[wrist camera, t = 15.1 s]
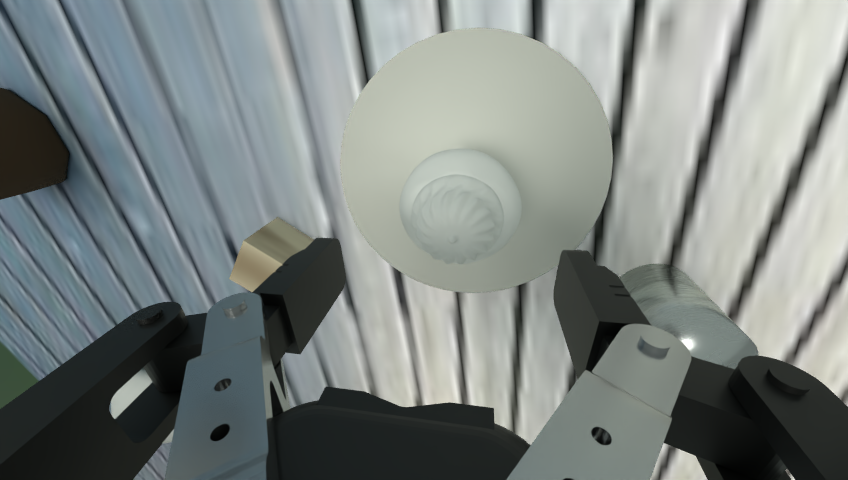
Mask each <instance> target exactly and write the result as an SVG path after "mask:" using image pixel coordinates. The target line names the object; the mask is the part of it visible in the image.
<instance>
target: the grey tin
mask: <svg viewBox="0 0 848 480" xmlns="http://www.w3.org/2000/svg"><path fill="white" fill-rule="evenodd" d="M620 280H621V281H622V283H623V284H624V286H625V288H626V289H627V290H628V292H629V293H630V295H631V297H632V298H633V299H634V301H635V302H636V303H637V305H638V306H639V308H640V309H641V311H642V312H643V314H644V315H645V317H646V318H647V320H648V321H649V323H650V324H651V326H654V327H657V328H660V329H662V330H664V331H666V332H668V333H670V334H672V335H673V336H675V337H676V338H678V339H679V340H680V341H681V342H683V343H684V345H685V346H686V347H687V348H688V350H689V351H690V354H691V356H693V357H695V358H698V359H702V360H705V361H708V362H712V363H715V364H719V365H722V366H726V367H729V368H732V369H735V368H736V366H737V365H738V363H739V361H740V360H741V359H742V358H744V357H747V356H758V350H757V347H756V345H755V344H754V343H753V341H752V340H751V339H750V338H749V337H748V336H747V335H746V334H745V333H744V332H743V331H742V330H741V329H740V328H739V327H738V326H737V325H736V324H735V323H734V322H733V321H732V320H731V319H730V318H729V317H728V316H727V315H726V314H725V313H724V312H723V311H722V310H721V309H720V308H719V307H718V306H717V305H716V304H715V303H714V302H713V301H712V300H711V299H710V298H709V297H708V296H707V295H706V294H705V293H704V292H703V291H702V290H701V289H700V288H699V287H698V286H697V285H696V284H695V283H694V282H693V281H692V280H691V279H690V278H689V277H688V276H687V275H686V274H685V273H684V272H683V271H682V270H680V269H678V268H676V267H674V266H670V265H666V264H649V265H643V266H640V267H637V268H634V269H632V270H630V271H628V272H626V273H625V274H624V275H622V276H621V277H620Z"/></svg>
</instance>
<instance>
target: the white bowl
mask: <svg viewBox="0 0 848 480" xmlns="http://www.w3.org/2000/svg"><path fill="white" fill-rule="evenodd" d="M449 149H472V150H476V151H480V152H483V153H485V154H487V155H489V156H491V157H492V158H494V159H495V160H497V161H498V162H499V163H500V164H501V165H502V166H503V167H504V168H505V169H506V170H507V171H508V172H509V174H510V175H511V177H512V178H513V180H514V182H515V184H516V186H517V188H518V190H519V193H520V197H521V203H522V211H521V218H520V221H519V224H518V226H517V229H516V231H515V233H514V234H513V236H512V237H511V239H510V240H509V241H508V243H507V244H506V245H505V246H504V247H503V248H501V249H500V250H499V251H498V252H496V253H494V254H493V255H491V256H489V257H487V258H485V259H482V260H480V261H476V262H472V263H466V264H462V265H460V264H455V263H451V264H446V263H445V262H444V261H442V260H436V259H434V258H433V257H432V256H431V255H429V254H427V253H426V252H424V251H423V250H422V249H420V248H419V247H418V246H417V245H416V244H415V243H414V242H413V241H412V240H411V238H410V237H409V236H408V234H407V232H406V230H405V228H404V226H403V224H402V221H401V217H400V210H399V203H400V197H401V193H402V190H403V187H404V185H405V183H406V181H407V179H408V177H409V176H410V174H411V173H412V171H413V170H414V169H415V168H416V167H417V166H418V165H419V164H420V163H421V162H422V161H423V160H425V159H426V158H428V157H429V156H431V155H433V154H435V153H438V152H440V151H444V150H449ZM612 162H613V155H612V140H611V135H610V130H609V126H608V121H607V118H606V116H605V113H604V111H603V108H602V106H601V103H600V101H599V99H598V97H597V96H596V94H595V92H594V91H593V89H592V87H591V86H590V84H589V83H588V82H587V80H586V79H585V78H584V77H583V75H582V74H581V73H580V72H579V71H578V69H577V68H576V67H575V66H573V65H572V64H571V63H570V62H569V61H568V60H567V59H565V58H564V57H563V56H562V55H561V54H559V53H558V52H556V51H555V50H553V49H551V48H550V47H548V46H546V45H545V44H543V43H541V42H539V41H537V40H534V39H532V38H529V37H527V36H524V35H522V34H518V33H514V32H509V31H505V30H501V29H488V28H470V29H458V30H453V31H449V32H445V33H441V34H437V35H434V36H432V37H429V38H427V39H424V40H422V41H419V42H417V43H415V44H413V45H412V46H410V47H408V48H407V49H405V50H403V51H402V52H400V53H398V54H397V55H396V56H395V57H393V58H392V59H391V60H390V61H388V62H387V63H386V64H385V65H384V66H383V67H382V68H381V69H380V70H379V71H378V72H377V73H376V74H375V75H374V76H373V77H372V78H371V79H370V81H369V82H368V84H367V85H366V86H365V88H364V89H363V91H362V92H361V94H360V95H359V97H358V99H357V101H356V103H355V105H354V107H353V109H352V111H351V113H350V116H349V119H348V121H347V124H346V127H345V131H344V136H343V141H342V146H341V159H340V166H341V180H342V186H343V191H344V195H345V199H346V202H347V205H348V208H349V211H350V213H351V215H352V217H353V220H354V222H355V223H356V225H357V227H358V229H359V230H360V232H361V234H362V235H363V236H364V238H365V239H366V240H367V242H368V243H369V244H370V246H371V247H372V248H373V249H374V250H375V251H376V252H377V253H378V254H379V255H380V256H381V257H382V258H383V259H384V260H385V261H387V262H388V263H389V264H390V265H391V266H393V267H394V268H396V269H397V270H399V271H400V272H402V273H403V274H405V275H407V276H409V277H411V278H413V279H415V280H417V281H419V282H422V283H424V284H427V285H429V286H433V287H436V288H440V289H443V290H449V291H455V292H467V293H480V292H492V291H498V290H504V289H507V288H511V287H515V286H518V285H521V284H523V283H526V282H529V281H531V280H533V279H535V278H537V277H539V276H541V275H543V274H545V273H546V272H548V271H549V270H551V269H552V268H554V267H555V266H557V265H558V264H559V260H560V255H561V252H562V251H563V250H575V249H576V248H577V247H578V246H579V245H580V244H581V243H582V241H583V240H584V239H585V237H586V236H587V234H588V233H589V232H590V230H591V229H592V227H593V226H594V224H595V222H596V220H597V218H598V216H599V215H600V213H601V210H602V208H603V205H604V202H605V200H606V197H607V194H608V189H609V185H610V181H611V174H612Z"/></svg>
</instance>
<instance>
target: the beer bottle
mask: <svg viewBox="0 0 848 480" xmlns="http://www.w3.org/2000/svg"><path fill="white" fill-rule="evenodd" d="M68 160H69V152H68V150H67V148H66V147H65V145H64V144H63V142H62V140H61V139H60V137H59V136H58V134H57V132H56V131H55V129H54V127H53V126H52V124H51V123H50V121H49V119H48V118H47V116H46V115H44V114H43V113H41V112H40V111H39V110H37V109H36V108H34V107H33V106H31V105H30V104H28V103H27V102H26V101H24V100H23V99H21V98H20V97H18V96H17V95H15V94H14V93H13V92H11V91H10V90H6V89H3V88H0V200H1V199H4V198H8V197H12V196H16V195H20V194H23V193H27V192H31V191H35V190H38V189H42V188H45V187H48V186H51V185H54V184H57V183H61V182H63V181H64V180H65V179H66V177H67V168H68Z"/></svg>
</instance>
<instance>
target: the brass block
mask: <svg viewBox="0 0 848 480" xmlns="http://www.w3.org/2000/svg"><path fill="white" fill-rule="evenodd" d="M313 241H314V240H313V239H312V238H310V237H308V236H307V235H305V234H304V233H302V232H300V231H299V230H297V229H296V228H294V227H293V226H291V225H289V224H288V223H286V222H285V221H283V220H281V219H280V218H278V217H277V218H275V219H274V220H273V221H271V222H270V223H268V224H267V225H265V226H264V227H263V228H261V229H260V230H258V231H257V232H255V233H254V234H252V235H251V236H250V237H248V238H247V239H245V240H244V241H243V244H242V246H241V249H240V252H239V254H238V257H237V260H236V262H235V265H234V267H233V270H232V273H231V275H230V278H229V279H231V280H232V281H234V282H236V283H237V284H239V285H241V286H242V287H244V288H246V289H248V290H249V291H251V292H253V291H254V290H255V289H256V288H257V287H258V286H259V285H260V284H262V283H263V282H264V281H265V280H266V279H267V278H268V277H269V276H270V275H271V274H272V273H273V272H275V270H277V269H278V268H279V267H280V266H282V264H283V263H284V262H285V261H286V260H287V259H288V258H289V257H290V256H292V255H294V254H296V253H298V252H299V251H301V250H304V249H305V248H306V247H307V246H309V245H310V244H311V243H312V242H313Z"/></svg>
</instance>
